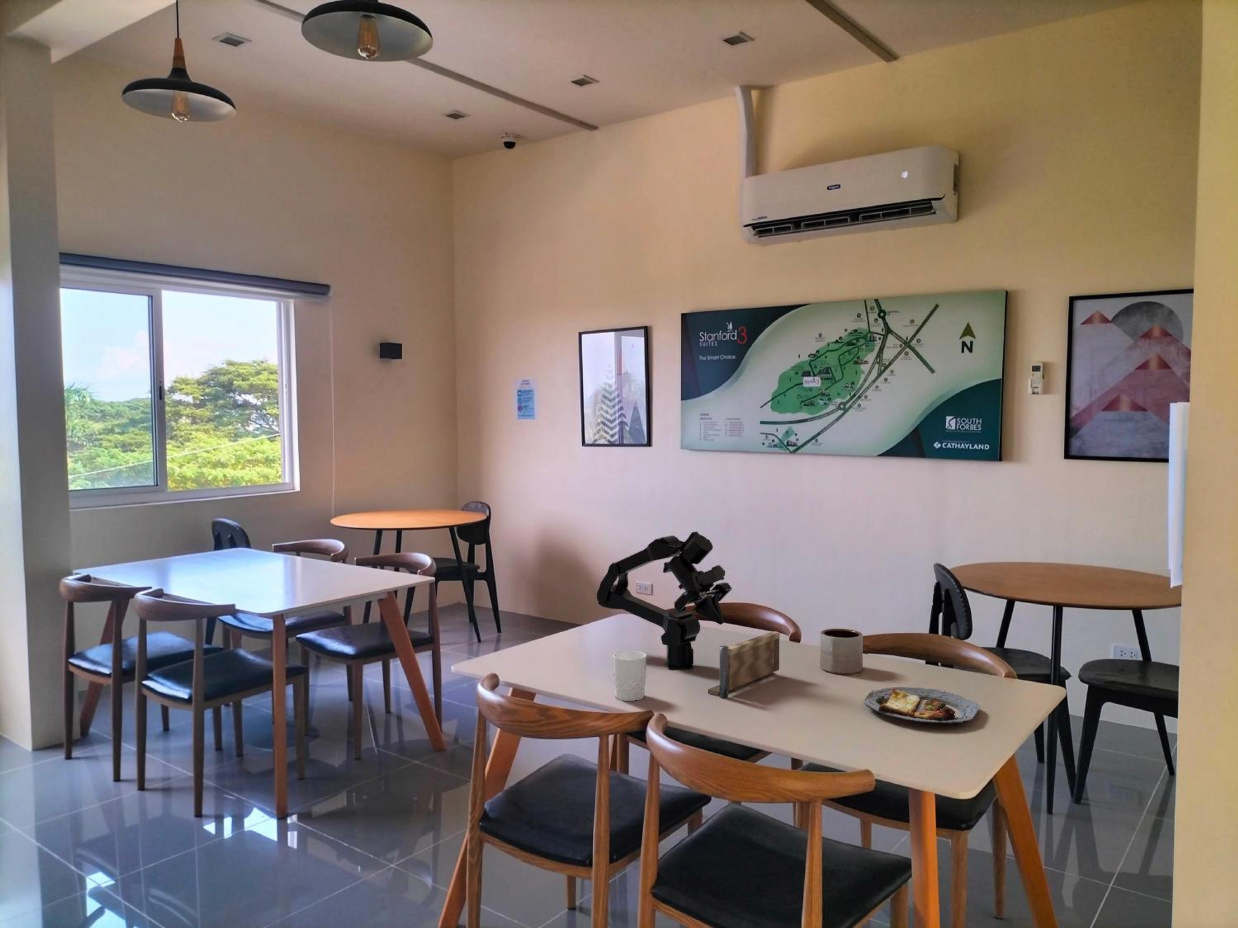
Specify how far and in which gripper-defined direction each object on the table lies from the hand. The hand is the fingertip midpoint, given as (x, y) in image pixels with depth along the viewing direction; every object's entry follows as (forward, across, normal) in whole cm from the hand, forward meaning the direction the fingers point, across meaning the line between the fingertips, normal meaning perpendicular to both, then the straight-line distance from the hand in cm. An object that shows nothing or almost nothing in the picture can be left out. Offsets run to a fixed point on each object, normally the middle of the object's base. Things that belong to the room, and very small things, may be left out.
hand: (722, 623), depth 219 cm
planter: (+24, +26, -4) cm, 35 cm away
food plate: (+45, +6, -25) cm, 51 cm away
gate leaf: (+16, -1, +1) cm, 16 cm away
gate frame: (+15, -2, +4) cm, 16 cm away
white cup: (+5, -28, +14) cm, 32 cm away
